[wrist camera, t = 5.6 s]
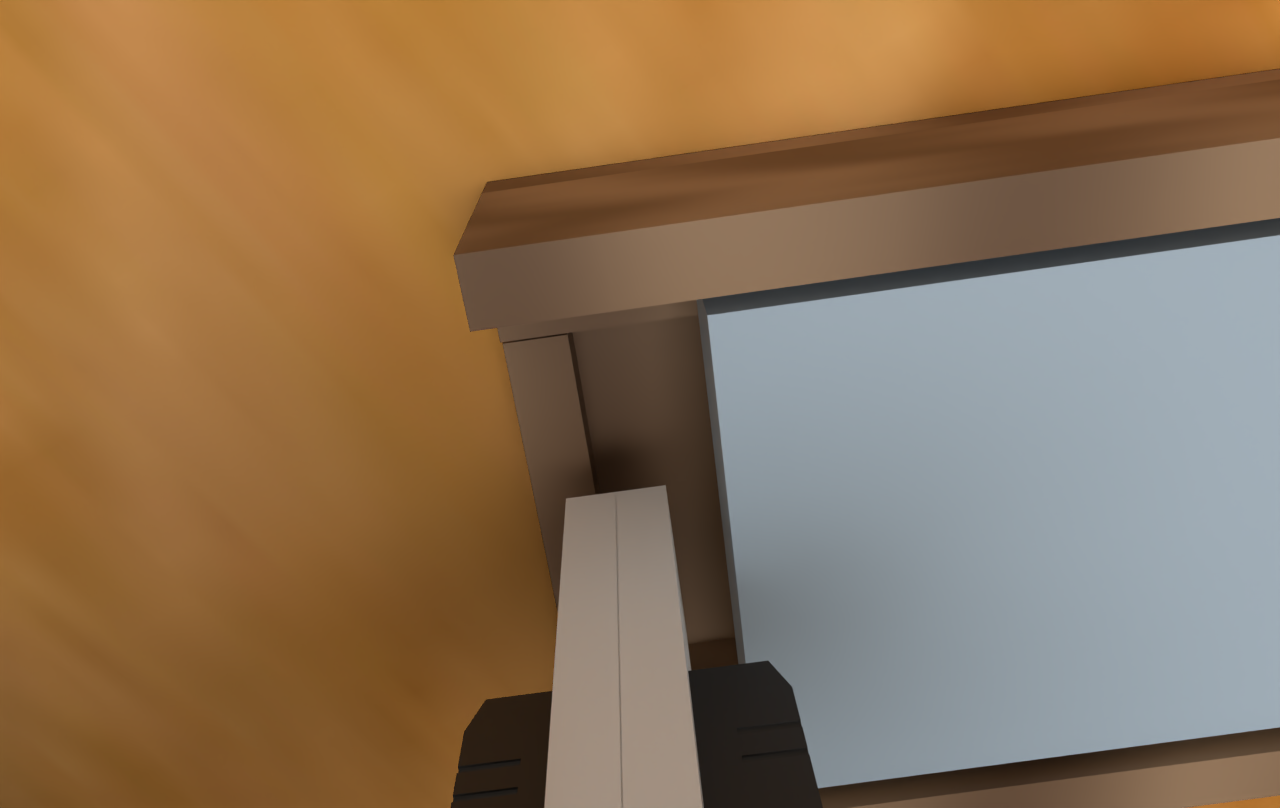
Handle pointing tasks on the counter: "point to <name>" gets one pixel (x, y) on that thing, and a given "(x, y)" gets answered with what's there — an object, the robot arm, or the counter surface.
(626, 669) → the robot arm
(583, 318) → the lid box
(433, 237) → the counter surface
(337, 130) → the counter surface
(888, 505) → the cover plate
